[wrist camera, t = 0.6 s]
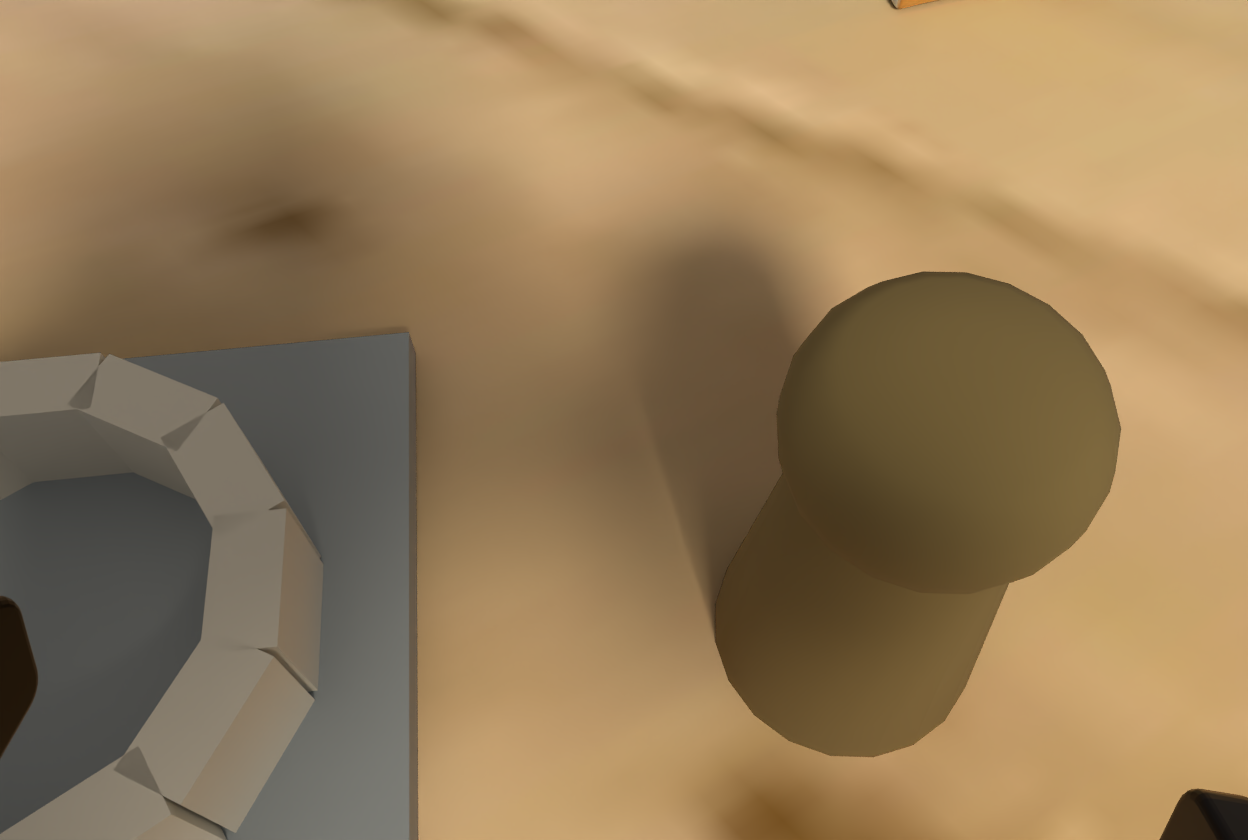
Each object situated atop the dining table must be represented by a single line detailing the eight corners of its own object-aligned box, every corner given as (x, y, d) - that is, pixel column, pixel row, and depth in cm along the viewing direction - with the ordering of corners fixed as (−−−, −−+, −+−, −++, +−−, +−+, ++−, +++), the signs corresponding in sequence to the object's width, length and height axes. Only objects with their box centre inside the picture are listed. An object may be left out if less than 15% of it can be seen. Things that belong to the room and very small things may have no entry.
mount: (418, 1019, 20) (375, 1015, 17) (-427, 1123, 20) (-651, 1140, 16) (415, 353, 29) (385, 260, 25) (-182, 409, 28) (-297, 320, 24)
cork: (829, 467, 27) (936, 154, 17) (1024, 632, 24) (1269, 375, 15) (661, 621, 25) (676, 362, 15) (856, 817, 22) (1018, 655, 13)
